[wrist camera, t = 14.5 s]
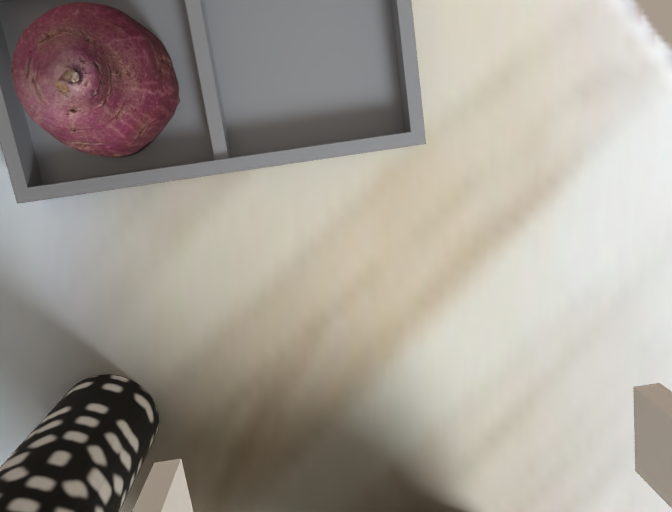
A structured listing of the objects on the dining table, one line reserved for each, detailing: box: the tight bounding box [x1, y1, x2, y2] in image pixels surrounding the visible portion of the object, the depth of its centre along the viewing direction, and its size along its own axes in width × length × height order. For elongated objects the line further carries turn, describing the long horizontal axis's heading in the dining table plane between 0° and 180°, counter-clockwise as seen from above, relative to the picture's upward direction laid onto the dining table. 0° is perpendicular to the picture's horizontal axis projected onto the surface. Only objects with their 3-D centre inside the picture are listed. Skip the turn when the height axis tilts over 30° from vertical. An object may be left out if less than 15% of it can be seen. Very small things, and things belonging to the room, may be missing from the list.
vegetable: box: [11, 2, 181, 158], centre depth 35 cm, size 10×10×15 cm
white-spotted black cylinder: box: [0, 375, 159, 512], centre depth 38 cm, size 8×8×20 cm
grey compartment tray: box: [0, 0, 426, 203], centre depth 41 cm, size 15×30×4 cm, turn 98°
